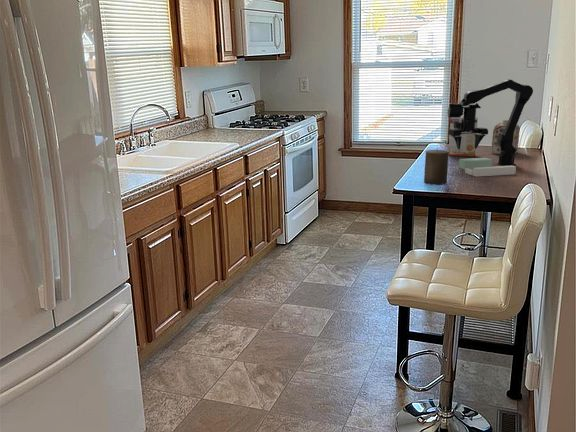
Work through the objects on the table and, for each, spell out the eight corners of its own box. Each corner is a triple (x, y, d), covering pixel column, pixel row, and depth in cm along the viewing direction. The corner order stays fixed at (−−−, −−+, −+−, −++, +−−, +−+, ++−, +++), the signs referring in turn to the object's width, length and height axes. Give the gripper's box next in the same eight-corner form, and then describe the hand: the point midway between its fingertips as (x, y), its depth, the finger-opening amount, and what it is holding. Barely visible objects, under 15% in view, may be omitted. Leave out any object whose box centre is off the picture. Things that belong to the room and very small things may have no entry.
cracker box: (475, 154, 311) (478, 116, 305) (475, 156, 305) (478, 117, 299) (448, 153, 315) (451, 115, 309) (448, 155, 310) (450, 116, 304)
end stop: (505, 170, 271) (505, 163, 270) (516, 174, 262) (516, 166, 261) (464, 172, 266) (465, 165, 265) (474, 176, 258) (475, 169, 257)
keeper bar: (485, 166, 281) (486, 157, 280) (491, 169, 275) (492, 160, 274) (458, 167, 279) (459, 158, 278) (464, 170, 273) (464, 161, 272)
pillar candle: (447, 185, 242) (450, 150, 238) (424, 184, 244) (426, 149, 240) (445, 180, 251) (448, 146, 247) (423, 179, 253) (425, 146, 249)
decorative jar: (490, 153, 314) (493, 120, 309) (496, 150, 323) (499, 118, 318) (512, 155, 308) (516, 122, 303) (518, 152, 317) (521, 120, 312)
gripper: (477, 115, 288) (475, 145, 293) (444, 116, 284) (442, 147, 289) (490, 117, 278) (487, 149, 282) (455, 118, 274) (452, 151, 278)
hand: (467, 149), depth 283 cm, fingers open, 9 cm apart
